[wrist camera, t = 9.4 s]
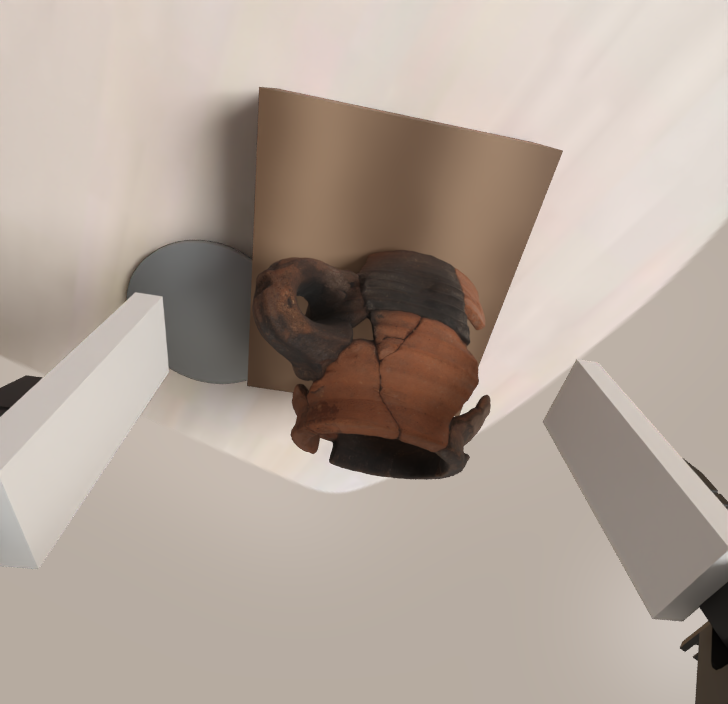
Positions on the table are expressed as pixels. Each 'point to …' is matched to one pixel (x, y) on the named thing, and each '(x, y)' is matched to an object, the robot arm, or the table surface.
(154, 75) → the table surface
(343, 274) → the pottery mug
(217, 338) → the coaster
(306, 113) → the plinth
